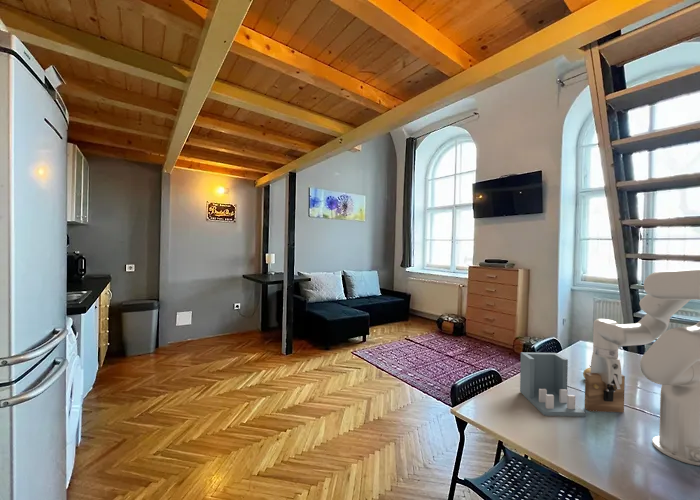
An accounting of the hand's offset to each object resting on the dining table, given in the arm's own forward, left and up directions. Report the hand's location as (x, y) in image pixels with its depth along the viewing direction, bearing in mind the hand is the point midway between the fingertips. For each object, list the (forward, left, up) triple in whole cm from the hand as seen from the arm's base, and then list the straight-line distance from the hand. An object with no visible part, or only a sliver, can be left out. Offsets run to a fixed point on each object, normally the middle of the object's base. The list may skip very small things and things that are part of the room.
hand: (604, 397), depth 120 cm
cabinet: (+4, +18, -5) cm, 19 cm away
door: (0, 0, -5) cm, 5 cm away
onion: (+25, -14, -5) cm, 29 cm away
